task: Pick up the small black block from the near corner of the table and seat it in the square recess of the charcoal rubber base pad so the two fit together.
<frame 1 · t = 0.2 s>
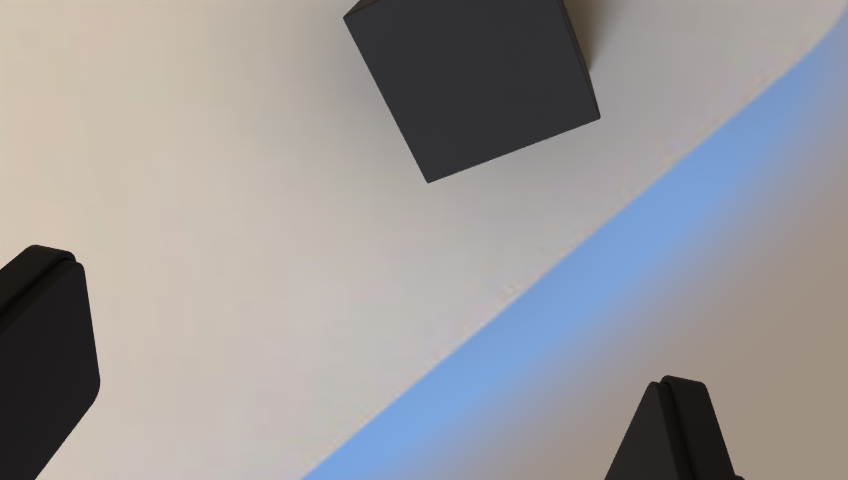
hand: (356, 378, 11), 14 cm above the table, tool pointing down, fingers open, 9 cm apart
black block: (481, 32, 22), on the table
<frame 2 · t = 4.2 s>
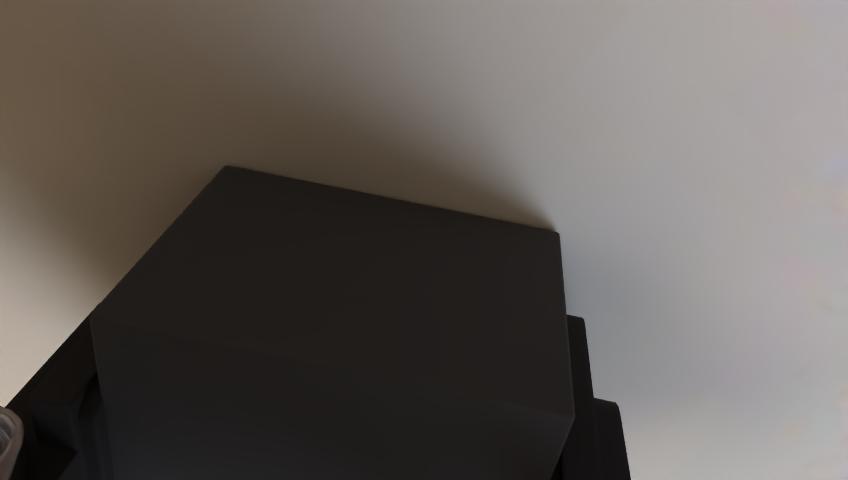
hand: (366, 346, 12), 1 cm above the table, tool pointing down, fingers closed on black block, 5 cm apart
black block: (372, 328, 12), on the table, touching gripper
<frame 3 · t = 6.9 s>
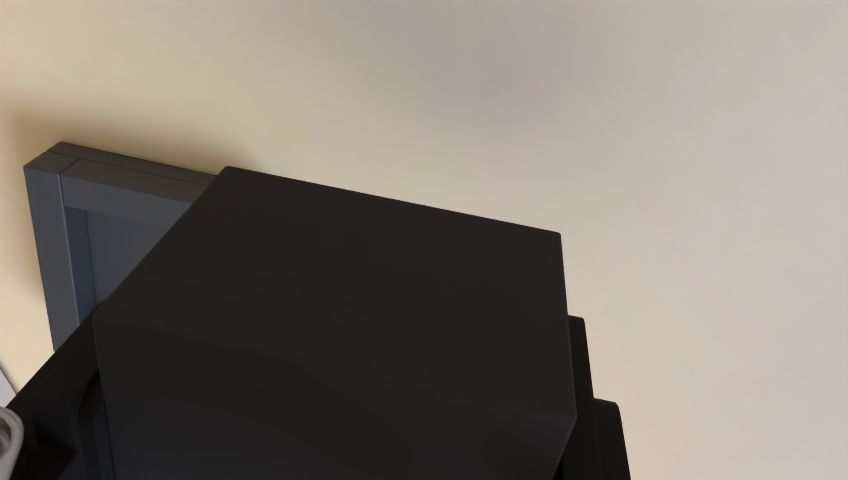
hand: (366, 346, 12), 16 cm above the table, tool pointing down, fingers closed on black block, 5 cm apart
black block: (373, 328, 12), point 15 cm above the table, touching gripper
base pad: (175, 261, 31), on the table
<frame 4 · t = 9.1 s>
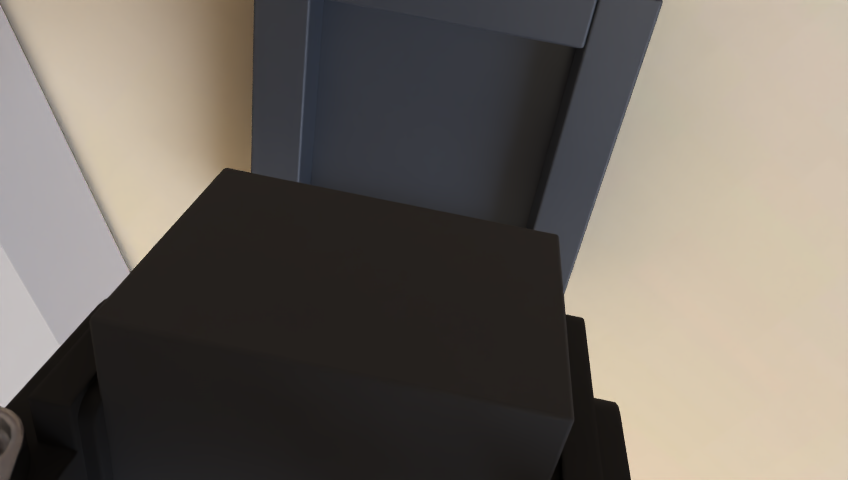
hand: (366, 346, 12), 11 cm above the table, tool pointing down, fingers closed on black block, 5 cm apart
black block: (371, 330, 12), point 10 cm above the table, touching gripper
base pad: (435, 116, 21), on the table
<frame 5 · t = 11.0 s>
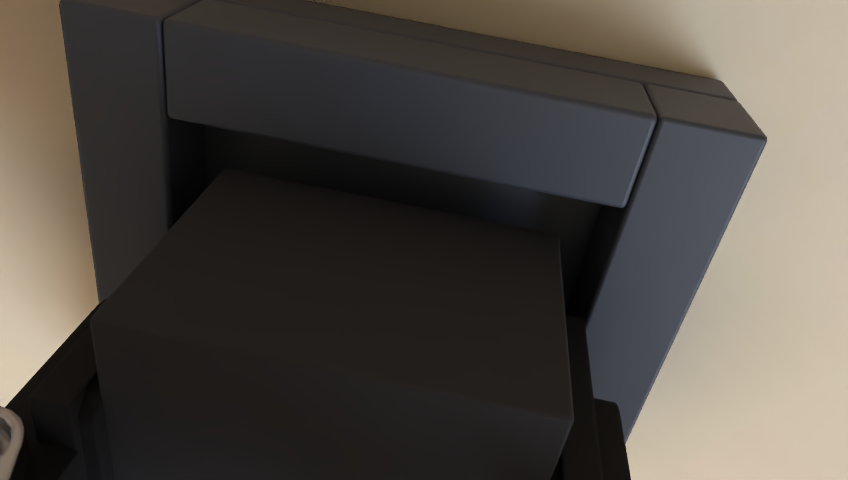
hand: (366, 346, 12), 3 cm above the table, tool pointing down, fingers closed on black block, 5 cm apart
black block: (371, 330, 12), point 2 cm above the table, touching gripper
base pad: (391, 264, 14), on the table
when the fingers open (3 cm above the table, at t = 14.2 s): black block drops 1 cm, resting on base pad.
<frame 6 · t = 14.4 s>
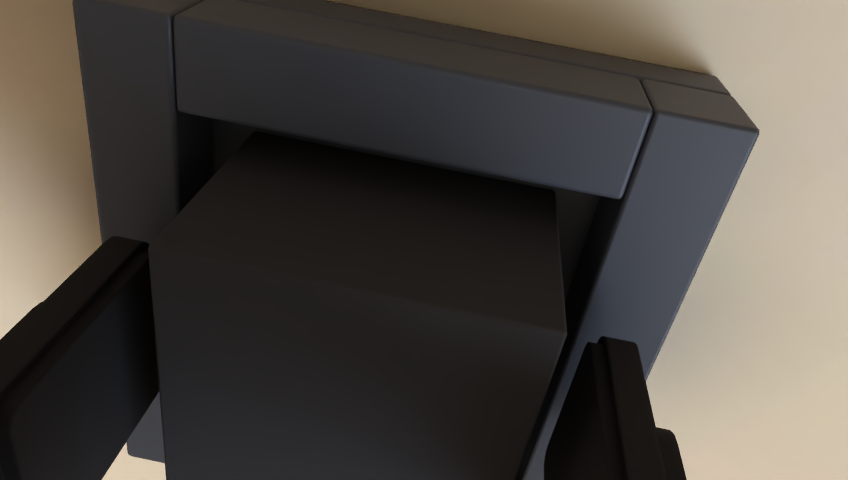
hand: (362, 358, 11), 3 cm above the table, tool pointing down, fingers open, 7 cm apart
black block: (384, 283, 13), point 1 cm above the table, touching base pad
base pad: (394, 257, 14), on the table
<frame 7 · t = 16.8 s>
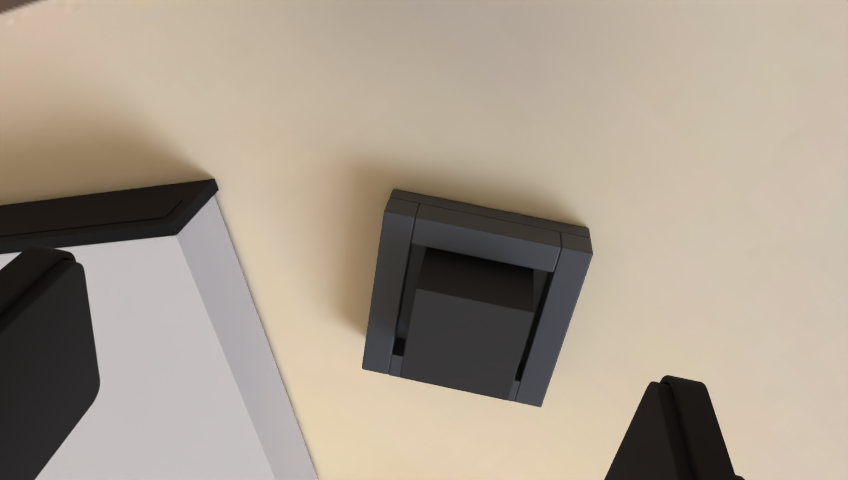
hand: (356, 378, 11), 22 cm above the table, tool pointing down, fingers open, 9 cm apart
black block: (470, 299, 35), point 1 cm above the table, touching base pad
base pad: (471, 288, 36), on the table
disc drive: (146, 354, 42), on the table
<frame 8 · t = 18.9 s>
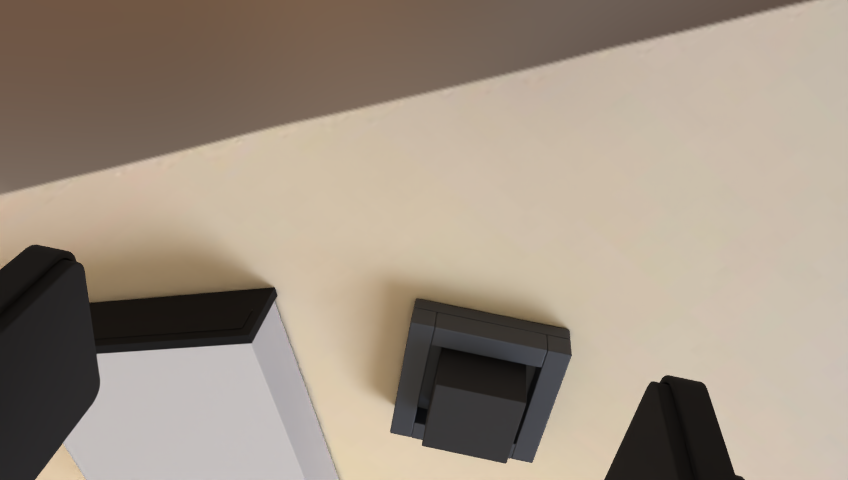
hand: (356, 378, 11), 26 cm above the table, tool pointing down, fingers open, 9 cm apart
black block: (476, 380, 45), point 1 cm above the table, touching base pad
base pad: (477, 370, 45), on the table
disc drive: (211, 413, 51), on the table
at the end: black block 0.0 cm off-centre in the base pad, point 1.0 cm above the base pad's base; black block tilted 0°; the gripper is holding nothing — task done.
